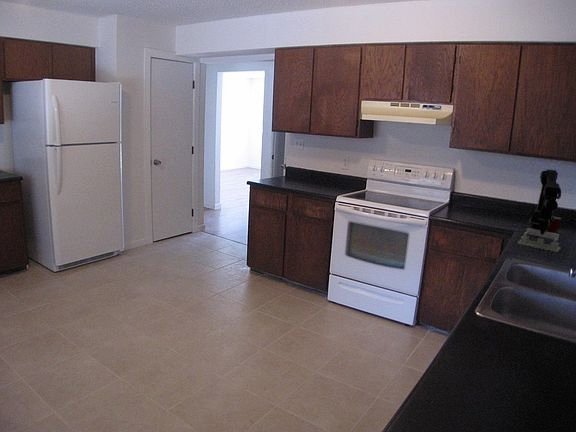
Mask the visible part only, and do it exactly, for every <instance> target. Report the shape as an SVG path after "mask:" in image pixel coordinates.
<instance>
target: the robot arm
mask: <svg viewBox="0 0 576 432" xmlns="http://www.w3.org/2000/svg"><path fill="white" fill-rule="evenodd" d="M558 175H559V173H558V171H557V170H555V169H546V170H542V171H541V173H540V176H539V179H540V183H541V189H540V194H539V197H538V201H537V202H538V203H537V206H536V207H537V208H535V209H534V210H533V209H532V210H530V211H529V214H528V215H529V221H528V224H529V225H530V228H532V229H537V230H540V232H541V235H543V234H544V232H545V231H546V232H547V229H548V228H549V226H550V225H551V224H552V222H550V220H552V221H554V218H555V217H556V216H555V215H554V212H555V210H556V209H558V206H559V205H558V201H557V200H560V199H561V197H562V188H561V187H560V184H559V183H557V180H558Z"/></svg>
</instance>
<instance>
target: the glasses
mask: <svg viewBox="0 0 576 432" xmlns="http://www.w3.org/2000/svg"><path fill="white" fill-rule="evenodd" d="M523 235H526V236H528V235H530V236H537V237H540V238H544V239H545V238H546V239H549V240H552V241H553V242H558V241H559V237H560V234H559V233H556V232H555V233H551V232H547V230H546V231H545V232H544V234H543V235H541V232H540V230H537V229H532V228H531V227H527V228H526V231H525V232H523Z"/></svg>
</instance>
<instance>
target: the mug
mask: <svg viewBox="0 0 576 432" xmlns="http://www.w3.org/2000/svg"><path fill="white" fill-rule="evenodd" d="M554 217H555V218H554V221H552V220H550V222H552V224H551V225H550V226H549V228H548V229H547V230H546V232H551V233H556V232H557V231H558V230H559V227H560V225H561V223H562V217H559V216H554Z"/></svg>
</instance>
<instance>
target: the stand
mask: <svg viewBox="0 0 576 432" xmlns="http://www.w3.org/2000/svg"><path fill="white" fill-rule="evenodd" d="M530 236H531V235H530ZM530 236H529V235H524V234H523V235H522V236H520V240H519V241H517V245H522V246H527V247H530V246H531V247H532V248H535V249H539V248H540V249H539V250H543V249H544V251H548V250H550V251H549V252H552V251H554V252H553V253H556V252H557V253H558V252H559V251H560V250H561V248H562V247H561V246H559V244H560V242H558V241H556V242H554V241H551V243H550V244H548V243H545V238H543V237H538V238H537V240H536V241H535V240H530Z"/></svg>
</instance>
